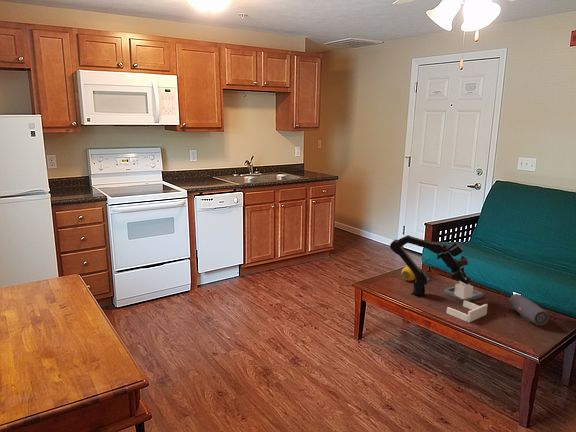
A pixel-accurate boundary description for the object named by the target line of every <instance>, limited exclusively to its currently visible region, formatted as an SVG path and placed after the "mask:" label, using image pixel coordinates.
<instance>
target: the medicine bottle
mask: <svg viewBox="0 0 576 432" xmlns="http://www.w3.org/2000/svg"><path fill="white" fill-rule="evenodd" d="M466 276H467V275H466ZM466 276H464V278H465V279H466V281H467V284H465V283H463V282H461V281H459V280H458V282H457V283H455V286H454V287H455V293H454V295H456V296H458V297H460V298H461V299H467V298H472V293H473V290H474V286H473V285H471V280H472V279H471V278H470V277H468V276H467V277H466Z"/></svg>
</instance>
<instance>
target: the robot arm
mask: <svg viewBox="0 0 576 432" xmlns="http://www.w3.org/2000/svg"><path fill="white" fill-rule="evenodd" d="M406 244H411V245H413V246H417V247H421V248H424V249H427V250H428V251H430V252H432V253H433V254H437V255H436V257H437V258H436V260H439V259H440V260H442V262H443V263H444V264H445V265H446V268H448V269H449V270H450V273H451V275H450V278H452V279H451V280H457V281H458V282H459V281H461V282H463V283H465V284H467V281H466V279H465V278H464V276H466V277H468V276H467V274H466V272H465V266H468V265H469V260H468V257H465V255H462V256H460V258H459V259H457V258H454V257H457V256H458V255H460V254H462V253H463V252H464V251H465V250H464V249H463V247H462V246H461V245H460V244H459V243H457V242H456V241H455V242H453V244H451V245H450V246H449V245H446V244H443V243H442V242H440V241H428V240H424V239H421V238H418V237H414V236H412V235H409V234H408V235H405V236H404V237H401V238H399V239H394V240H393V241H392V242H391V243H390V244H389V248H390V250H391V251H392V252H394V253H395V254H396V255H398V256H399V257H400V258H401V259H402V261H403V262H404V263H405V264H406V266H408V267H409V268H410V269H411V271H412V272H413V273H414V275H415V278H416V279H414V280H415V281H414V283H413V286H412V287H413V288H412V292H411V295H413V296H415V297H417V298H422V297H426V296H427V293H426V288H425V285H427V284H428V281H429V280H430V277H429V273H427V271H426V270H425V269H422V270H420V269H421V268H420V269H419V268H418V267H419V266H418V265H417V264H416V263H415V262H414V260H413V259H412V258H411V256H410V255H409V254H408V252H407V251H406V250H405V248H404V246H405V245H406ZM425 293H426V294H425Z"/></svg>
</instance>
